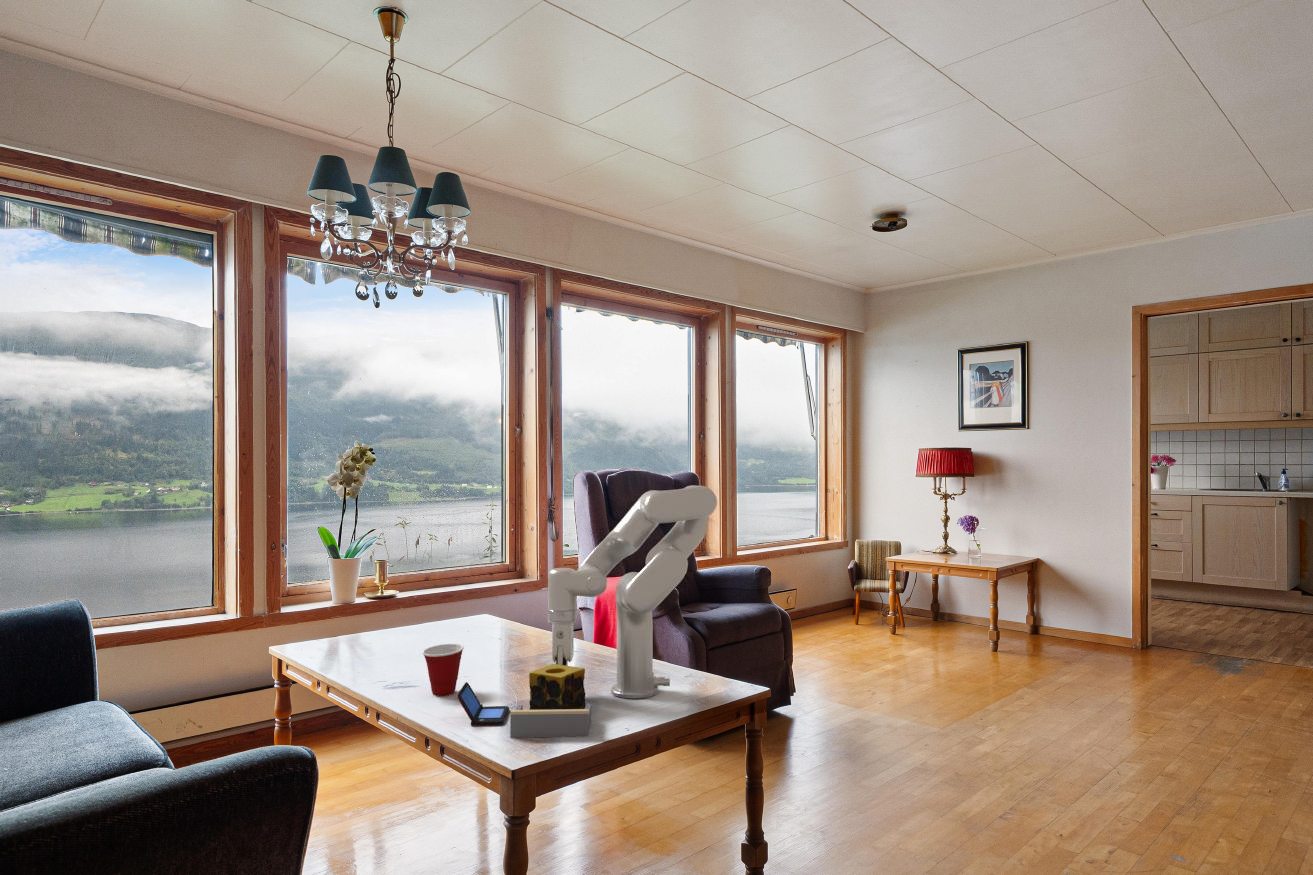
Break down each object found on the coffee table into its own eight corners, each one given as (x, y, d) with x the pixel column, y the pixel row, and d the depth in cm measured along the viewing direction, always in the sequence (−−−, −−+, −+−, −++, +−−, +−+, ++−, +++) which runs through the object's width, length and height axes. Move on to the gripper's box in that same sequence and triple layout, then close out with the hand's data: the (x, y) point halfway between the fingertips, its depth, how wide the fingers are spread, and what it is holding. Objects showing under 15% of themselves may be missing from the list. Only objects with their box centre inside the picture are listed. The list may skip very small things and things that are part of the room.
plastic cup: (414, 692, 204) (415, 647, 205) (452, 685, 211) (453, 641, 212) (431, 701, 196) (432, 654, 196) (470, 694, 203) (471, 648, 203)
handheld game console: (503, 726, 177) (503, 694, 178) (455, 728, 176) (455, 695, 177) (510, 710, 190) (510, 679, 190) (465, 711, 189) (465, 680, 189)
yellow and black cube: (586, 708, 190) (586, 667, 191) (561, 720, 182) (561, 677, 182) (554, 702, 195) (554, 662, 196) (528, 713, 187) (528, 671, 187)
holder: (590, 721, 180) (590, 697, 180) (588, 736, 170) (588, 710, 170) (517, 722, 179) (517, 698, 180) (510, 737, 169) (510, 711, 169)
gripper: (574, 621, 194) (573, 694, 193) (578, 610, 208) (578, 679, 208) (544, 621, 193) (543, 695, 192) (550, 610, 208) (550, 679, 207)
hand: (561, 686), depth 200 cm, fingers closed
